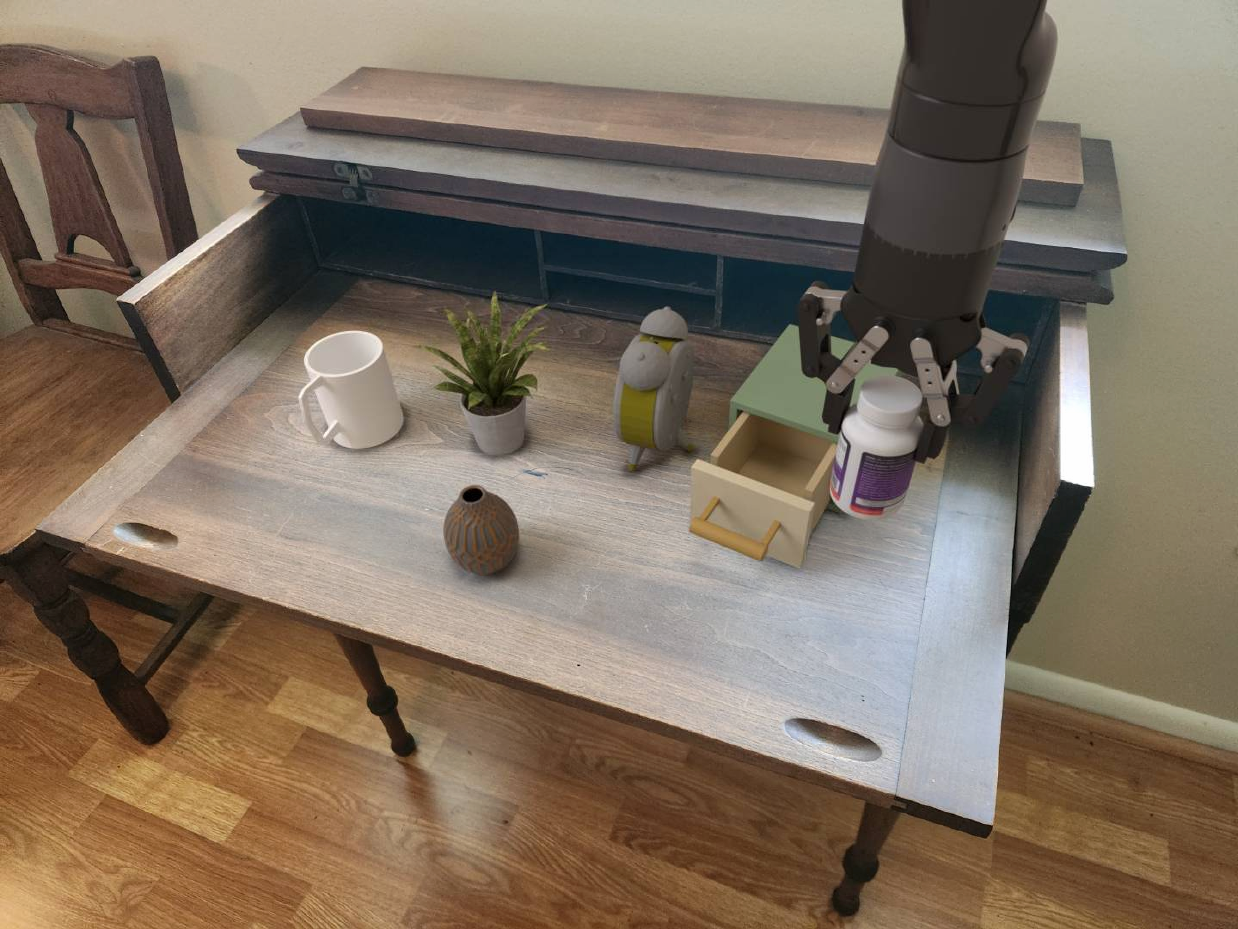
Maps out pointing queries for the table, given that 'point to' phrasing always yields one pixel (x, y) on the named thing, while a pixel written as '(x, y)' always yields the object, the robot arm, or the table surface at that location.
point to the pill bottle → (877, 448)
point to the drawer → (762, 489)
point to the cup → (351, 390)
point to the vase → (481, 531)
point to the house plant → (492, 380)
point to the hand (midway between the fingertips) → (879, 440)
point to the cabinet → (795, 389)
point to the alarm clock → (654, 386)
